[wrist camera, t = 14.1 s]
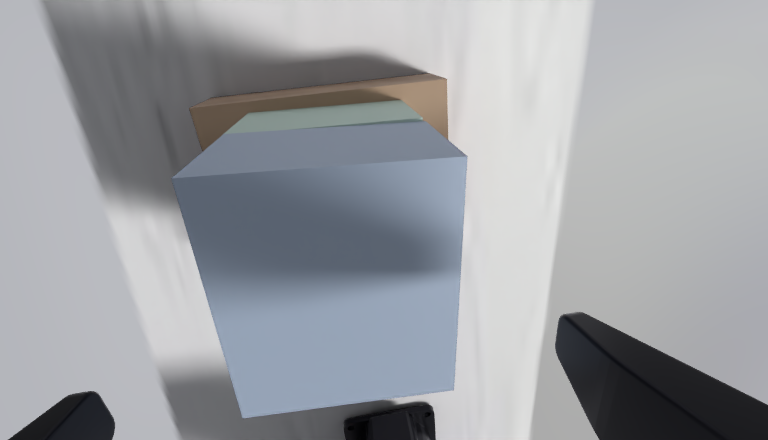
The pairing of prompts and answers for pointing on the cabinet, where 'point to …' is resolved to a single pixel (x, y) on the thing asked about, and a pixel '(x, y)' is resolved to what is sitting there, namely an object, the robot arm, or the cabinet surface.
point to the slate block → (330, 261)
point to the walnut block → (325, 102)
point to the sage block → (327, 117)
